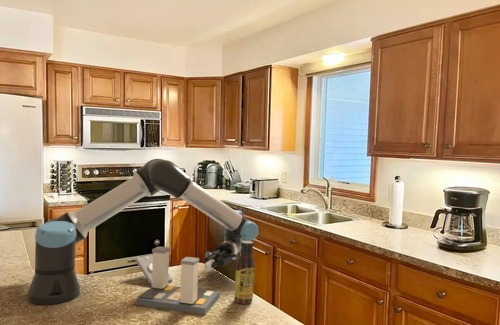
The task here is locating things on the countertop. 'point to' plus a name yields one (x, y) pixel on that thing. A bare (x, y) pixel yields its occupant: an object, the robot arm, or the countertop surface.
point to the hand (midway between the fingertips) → (206, 268)
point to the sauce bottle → (245, 274)
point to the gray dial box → (148, 267)
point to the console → (177, 300)
